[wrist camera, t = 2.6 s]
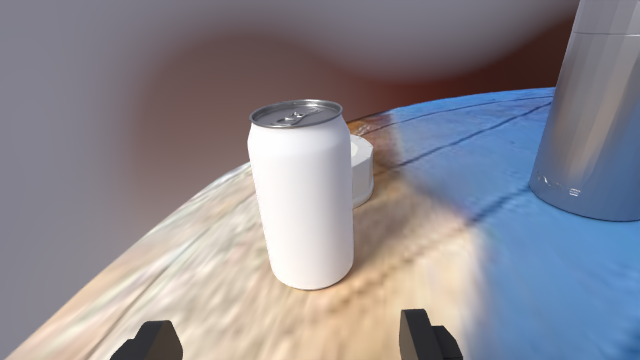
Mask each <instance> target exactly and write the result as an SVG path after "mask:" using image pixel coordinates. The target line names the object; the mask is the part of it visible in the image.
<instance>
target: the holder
mask: <svg viewBox="0 0 640 360" xmlns="http://www.w3.org/2000/svg"><path fill="white" fill-rule="evenodd" d="M350 140H351V166H352V200H353V209H354V208H356V207H358V206H360V205H362V204H363V203H364V202H366V201H367V200H368V199H369V198H370V196H371V195H372V193H373V188H374V178H373V146H372V145H371V144H370V143H369V142H368V141H366V140H365V139H364V138H362V137H359V136H355V135H350Z"/></svg>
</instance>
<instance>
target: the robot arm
mask: <svg viewBox="0 0 640 360" xmlns="http://www.w3.org/2000/svg"><path fill="white" fill-rule="evenodd" d="M529 186H530V188H531V190H532V191H533V192H534V193H535V194H536V195H537V196H538V197H539V198H541V199H542V200H544V201H545V202H547V203H549V204H551V205H553V206H555V207H558V208H560V209H563V210H565V211H568V212H571V213H575V214H578V215H582V216H586V217H591V218H596V219H602V220H611V221H632V220H639V219H640V0H580V4H579V7H578V11H577V14H576V18H575V21H574V25H573V28H572V32H571V36H570V40H569V43H568V47H567V50H566V54H565V57H564V61H563V64H562V68H561V71H560V75H559V79H558V82H557V86H556V89H555V93H554V96H553V100H552V103H551V107H550V110H549V114H548V117H547V121H546V124H545V128H544V132H543V135H542V139H541V142H540V146H539V149H538V152H537V156H536V160H535V163H534V167H533V170H532V174H531V177H530V181H529ZM399 346H400V353H401V358H402V360H463V356H462V354H461V351H460V349H459V347H458V344H457V342H456V340H455V339H454V337H453V336H452V335H451V334H450V333H449V332H448V331H447V329H446V328H445V327H444V326H431V324H430V321H429V318H428V315H427V313H426V311H425V310H424V309H407V310H402V311H401V319H400V332H399ZM182 358H183V349H182V345H181V343H180V341H179V338H178V336H177V334H176V332H175V329H174V327H173V325H172V323H171V321H169V320H163V321H147V322H145V323H144V324H143V325H142V326H141V328H140V329H139V331H138V333H137V334H136V336H135V338H134V339H128V340H127V341H126V342H125V343H124V344H123V345H122V346H121V347H120V348H119V349H118V350H117V351H116V352H115V353H114V354H113V355H112V357H111V358H110V360H182Z"/></svg>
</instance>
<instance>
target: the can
mask: <svg viewBox="0 0 640 360" xmlns="http://www.w3.org/2000/svg"><path fill="white" fill-rule="evenodd" d="M342 111H343V108H342V106H341V105H339V104H337V103H335V102H331V101H326V100H293V101H285V102H280V103H275V104H271V105H267V106H264V107H262V108H260V109H257V110H256V111H254V112H252V113H251V115H250V117H249V118H250V121H251V122H252V127H251V130H250V134H249V137H248V151H249V156H250V162H251V167H252V173H253V178H254V183H255V188H256V193H257V198H258V204H259V209H260V214H261V219H262V224H263V229H264V234H265V239H266V244H267V249H268V254H269V258H270V263H271V267H272V270H273V273H274V274H275V276H276V277H277V278H278V279H279V280H280V281H281V282H283V283H284V284H286V285H288V286H291V287H293V288H296V289H300V290H318V289H323V288H326V287H329V286H331V285H333V284H335V283H336V282H338V281H339V280H341V279H342V278H343V277H344V276H345V275H346V274H347V273H348V272H349V270H350V269H351V267H352V264H353V259H354V241H353V200H352V166H351V140H350V132H349V129H348V127H347V125H346V123H345V121H344V119H343V117H342Z"/></svg>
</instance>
